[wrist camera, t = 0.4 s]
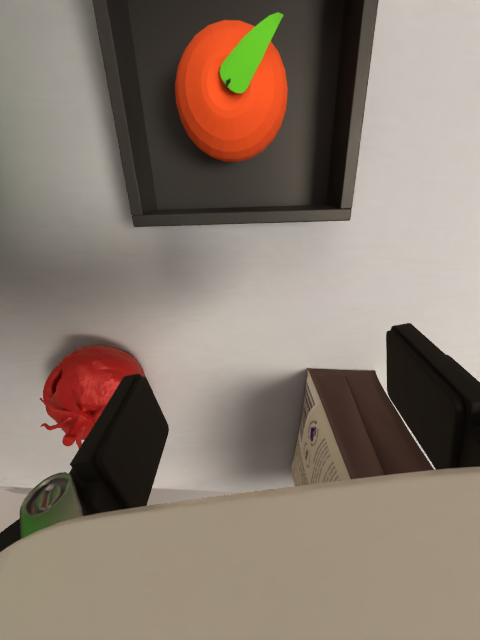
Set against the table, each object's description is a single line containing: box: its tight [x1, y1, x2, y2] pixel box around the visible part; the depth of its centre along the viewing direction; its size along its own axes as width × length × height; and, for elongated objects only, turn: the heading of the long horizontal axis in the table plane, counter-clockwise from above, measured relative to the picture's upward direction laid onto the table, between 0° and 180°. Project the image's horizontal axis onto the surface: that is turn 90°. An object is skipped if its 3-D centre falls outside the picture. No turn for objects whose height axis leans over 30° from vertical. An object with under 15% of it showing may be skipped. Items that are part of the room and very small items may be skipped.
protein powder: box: [291, 369, 434, 486], centre depth 23 cm, size 16×9×28 cm, turn 179°
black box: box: [92, 0, 378, 227], centre depth 20 cm, size 16×16×5 cm
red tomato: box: [40, 345, 145, 449], centre depth 28 cm, size 10×10×9 cm
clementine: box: [175, 12, 288, 162], centre depth 18 cm, size 8×7×7 cm
